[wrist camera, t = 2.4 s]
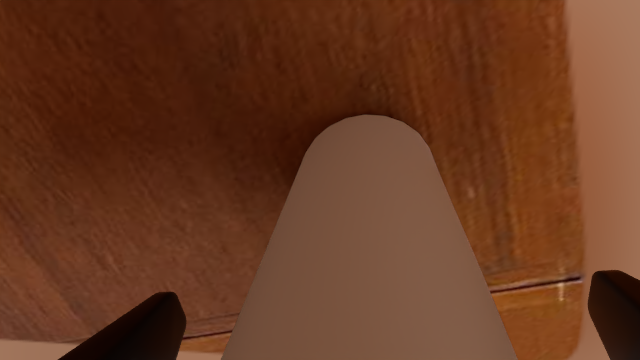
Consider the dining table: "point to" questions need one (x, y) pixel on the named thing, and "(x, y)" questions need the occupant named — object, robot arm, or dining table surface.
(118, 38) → the dining table surface
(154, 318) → the robot arm
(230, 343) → the beverage can
